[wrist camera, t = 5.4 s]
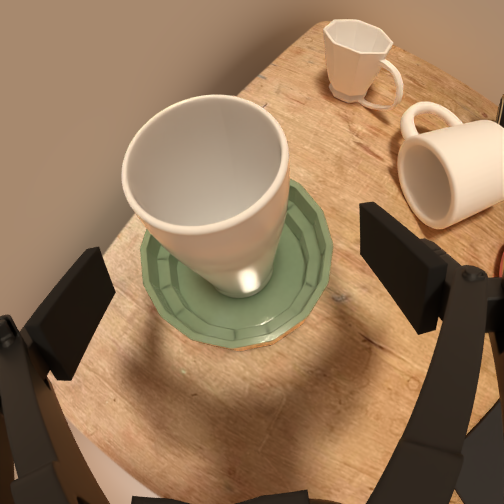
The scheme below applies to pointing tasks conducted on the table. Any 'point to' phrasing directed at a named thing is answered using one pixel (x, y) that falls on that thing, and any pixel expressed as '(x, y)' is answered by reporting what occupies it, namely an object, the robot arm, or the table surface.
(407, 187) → the mug
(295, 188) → the bowl
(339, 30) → the cup
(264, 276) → the drinking glass
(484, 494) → the mat
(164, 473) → the table surface
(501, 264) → the donut
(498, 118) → the headphones
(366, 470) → the table surface
